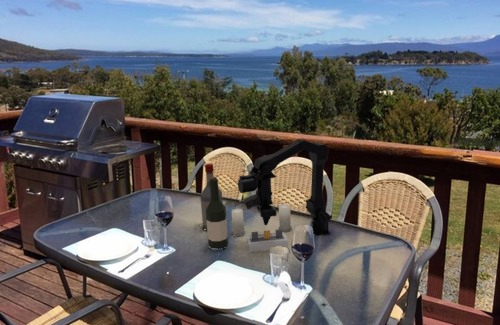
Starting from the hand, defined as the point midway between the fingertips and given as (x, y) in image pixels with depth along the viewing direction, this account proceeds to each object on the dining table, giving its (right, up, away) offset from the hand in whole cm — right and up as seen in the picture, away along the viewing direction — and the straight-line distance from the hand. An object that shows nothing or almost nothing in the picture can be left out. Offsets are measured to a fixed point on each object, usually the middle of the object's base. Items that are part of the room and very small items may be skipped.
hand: (265, 224), depth 174 cm
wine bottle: (-20, -9, +2) cm, 22 cm away
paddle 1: (-4, -6, -1) cm, 7 cm away
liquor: (-23, -4, +21) cm, 32 cm away
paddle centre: (+1, -5, -1) cm, 6 cm away
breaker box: (+1, -9, 0) cm, 9 cm away
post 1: (-11, -6, +12) cm, 18 cm away
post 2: (+9, -4, +15) cm, 18 cm away
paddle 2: (+6, -5, 0) cm, 7 cm away
